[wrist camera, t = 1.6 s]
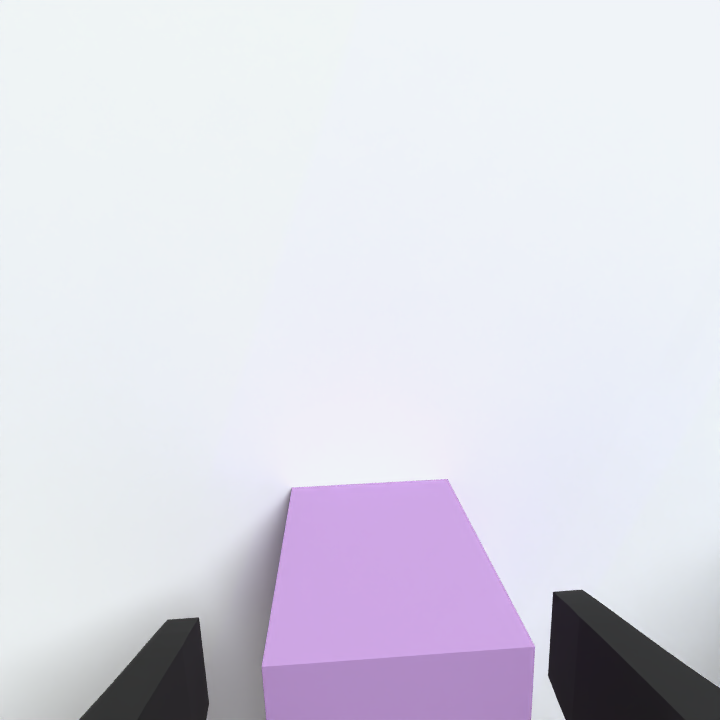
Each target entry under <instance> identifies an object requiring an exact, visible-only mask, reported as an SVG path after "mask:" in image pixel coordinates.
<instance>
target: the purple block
mask: <svg viewBox="0 0 720 720" xmlns="http://www.w3.org/2000/svg"><path fill="white" fill-rule="evenodd" d="M534 655H535V646H534V644H533V642H532V640H531V638H530V636H529V634H528V632H527V631H526V629H525V627H524V625H523V623H522V621H521V619H520V617H519V615H518V613H517V611H516V609H515V608H514V606H513V604H512V602H511V600H510V598H509V596H508V594H507V592H506V590H505V588H504V586H503V585H502V583H501V581H500V579H499V577H498V575H497V573H496V571H495V569H494V567H493V565H492V564H491V562H490V560H489V558H488V556H487V554H486V552H485V550H484V548H483V546H482V544H481V542H480V541H479V539H478V537H477V535H476V533H475V531H474V529H473V527H472V525H471V523H470V521H469V519H468V518H467V516H466V514H465V512H464V510H463V508H462V506H461V504H460V502H459V500H458V498H457V496H456V495H455V493H454V491H453V489H452V487H451V485H450V483H449V481H448V479H441V480H423V481H405V482H387V483H369V484H351V485H333V486H315V487H297V488H292V491H291V497H290V502H289V508H288V514H287V520H286V526H285V532H284V538H283V544H282V550H281V556H280V562H279V567H278V573H277V579H276V585H275V591H274V597H273V603H272V609H271V615H270V621H269V627H268V633H267V638H266V644H265V650H264V656H263V662H262V676H263V688H264V699H265V710H266V720H531V710H532V692H533V673H534Z"/></svg>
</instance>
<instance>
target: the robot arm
mask: <svg viewBox="0 0 720 720" xmlns="http://www.w3.org/2000/svg"><path fill="white" fill-rule="evenodd" d="M548 677H549V679H550V682H551V684H552V687H553V689H554V692H555V695H556V697H557V700H558V702H559V705H560V707H561V710H562V712H563V714H564V717H565V719H566V720H720V688H719V687H717V686H716V685H714V684H713V683H711V682H710V681H709V680H707V679H706V678H704V677H703V676H701V675H700V674H698V673H697V672H695V671H694V670H693V669H691V668H690V667H688V666H687V665H685V664H684V663H683V662H681V661H680V660H678V659H677V658H676V657H674V656H673V655H671V654H670V653H669V652H667V651H666V650H664V649H663V648H662V647H660V646H659V645H657V644H656V643H655V642H653V641H652V640H651V639H649V638H648V637H646V636H645V635H644V634H642V633H641V632H640V631H638V630H637V629H636V628H634V627H633V626H632V625H630V624H629V623H627V622H626V621H625V620H623V619H622V618H621V617H619V616H618V615H617V614H615V613H614V612H613V611H611V610H610V609H608V608H607V607H606V606H604V605H603V604H602V603H600V602H599V601H597V600H596V599H595V598H593V597H592V596H590V595H589V594H587V593H586V592H584V591H583V590H573V591H559V592H553V604H552V620H551V636H550V653H549V669H548ZM208 706H209V699H208V691H207V682H206V674H205V665H204V657H203V648H202V640H201V631H200V622H199V618H186V619H172V620H167V621H166V622H165V623H164V624H163V625H162V627H161V628H160V629H159V630H158V631H157V632H156V633H155V634H154V636H153V637H152V638H151V639H150V640H149V641H148V643H147V644H146V645H145V646H144V647H143V648H142V649H141V651H140V652H139V653H138V654H137V655H136V656H135V658H134V659H133V660H132V661H131V662H130V663H129V665H128V666H127V667H126V668H125V669H124V670H123V671H122V673H121V674H120V675H119V676H118V677H117V678H116V679H115V681H114V682H113V683H112V684H111V685H110V686H109V687H108V688H107V690H106V691H105V692H104V693H103V694H102V695H101V696H100V697H99V698H98V699H97V701H96V702H95V703H94V704H93V705H92V706H91V707H90V708H89V709H88V711H87V712H86V713H85V714H84V715H83V716H82V717H81V718H80V719H79V720H206V717H207V712H208Z"/></svg>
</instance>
